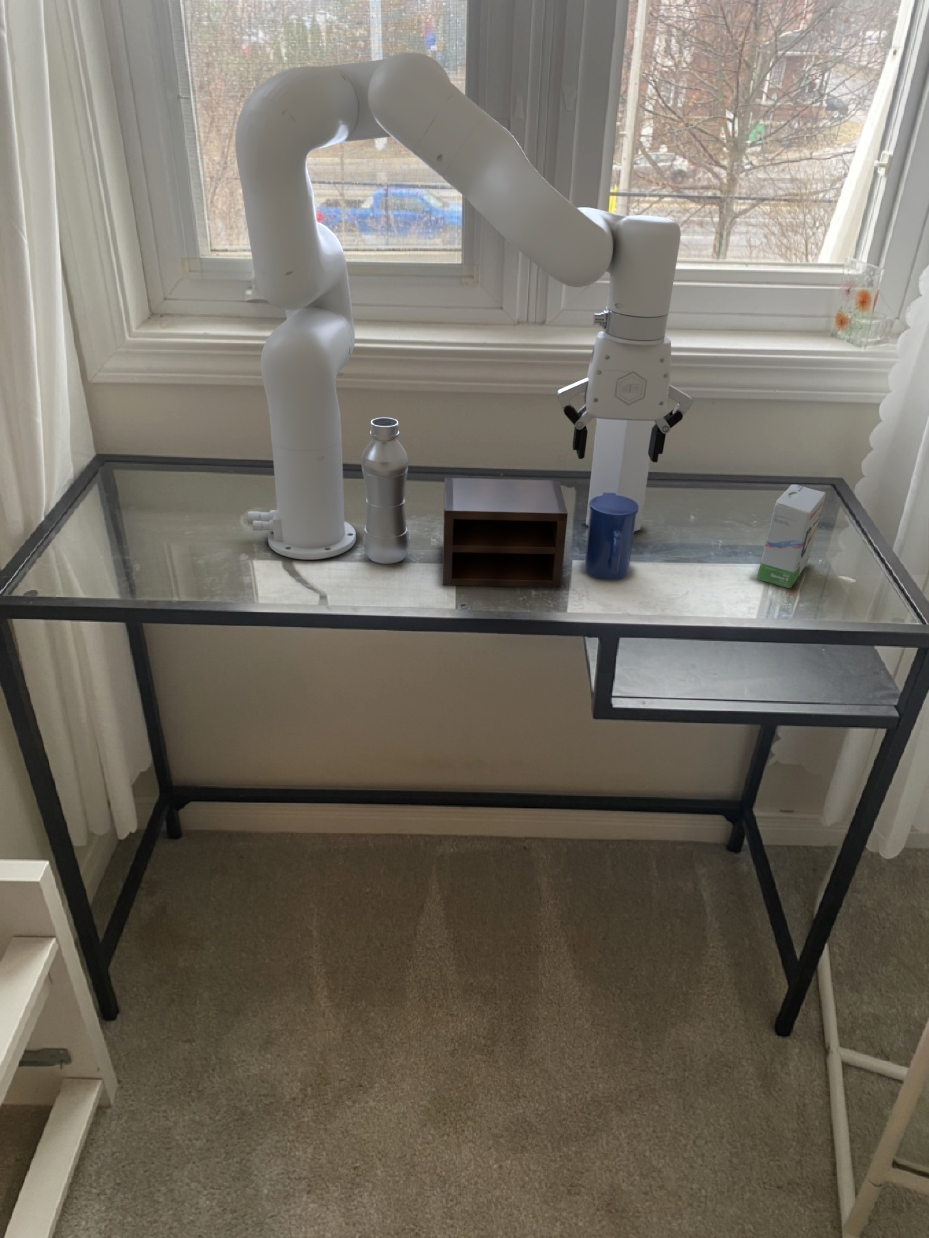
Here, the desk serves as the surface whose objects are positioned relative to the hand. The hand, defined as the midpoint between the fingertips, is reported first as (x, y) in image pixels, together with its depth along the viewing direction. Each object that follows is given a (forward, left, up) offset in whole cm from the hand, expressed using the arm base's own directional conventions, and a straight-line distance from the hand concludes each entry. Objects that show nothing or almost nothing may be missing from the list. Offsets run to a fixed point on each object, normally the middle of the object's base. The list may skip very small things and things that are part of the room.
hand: (616, 457), depth 127 cm
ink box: (+25, 0, -17) cm, 31 cm away
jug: (0, 0, -17) cm, 17 cm away
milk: (+3, +14, -17) cm, 22 cm away
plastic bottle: (-31, +2, -17) cm, 35 cm away
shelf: (-15, 0, -17) cm, 22 cm away
